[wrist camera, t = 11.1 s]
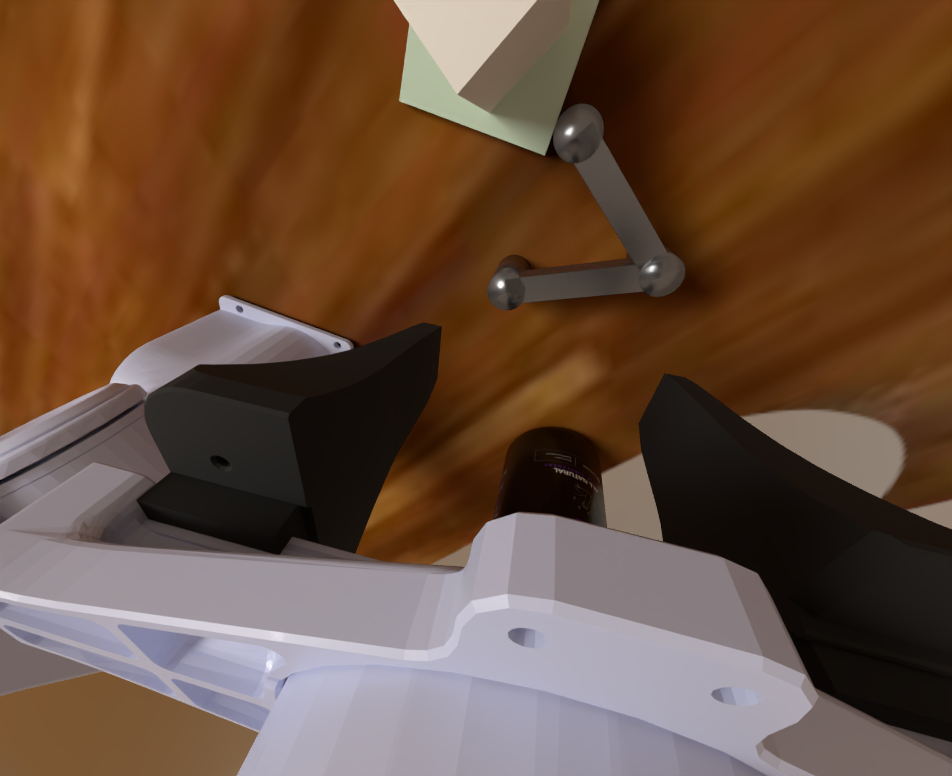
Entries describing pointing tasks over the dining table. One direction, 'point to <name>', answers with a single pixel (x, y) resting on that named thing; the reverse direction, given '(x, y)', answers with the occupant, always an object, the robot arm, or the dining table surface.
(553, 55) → the pad
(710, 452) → the robot arm
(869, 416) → the dining table surface
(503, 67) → the block
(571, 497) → the supplement bottle
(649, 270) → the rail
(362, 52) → the dining table surface
